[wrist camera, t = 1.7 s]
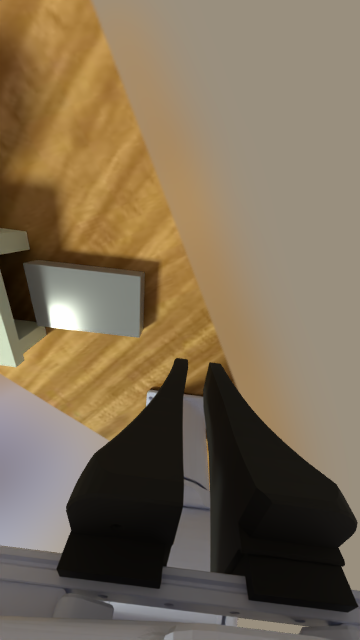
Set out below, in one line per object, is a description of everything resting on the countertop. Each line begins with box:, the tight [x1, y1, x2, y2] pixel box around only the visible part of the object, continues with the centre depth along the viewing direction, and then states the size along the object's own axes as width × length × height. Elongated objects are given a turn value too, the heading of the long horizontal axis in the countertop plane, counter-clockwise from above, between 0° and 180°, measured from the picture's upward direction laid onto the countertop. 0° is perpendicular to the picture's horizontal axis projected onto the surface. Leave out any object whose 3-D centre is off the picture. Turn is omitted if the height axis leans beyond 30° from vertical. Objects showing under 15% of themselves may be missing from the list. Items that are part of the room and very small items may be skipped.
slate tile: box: [23, 260, 145, 337], centre depth 19 cm, size 6×10×2 cm, turn 84°
